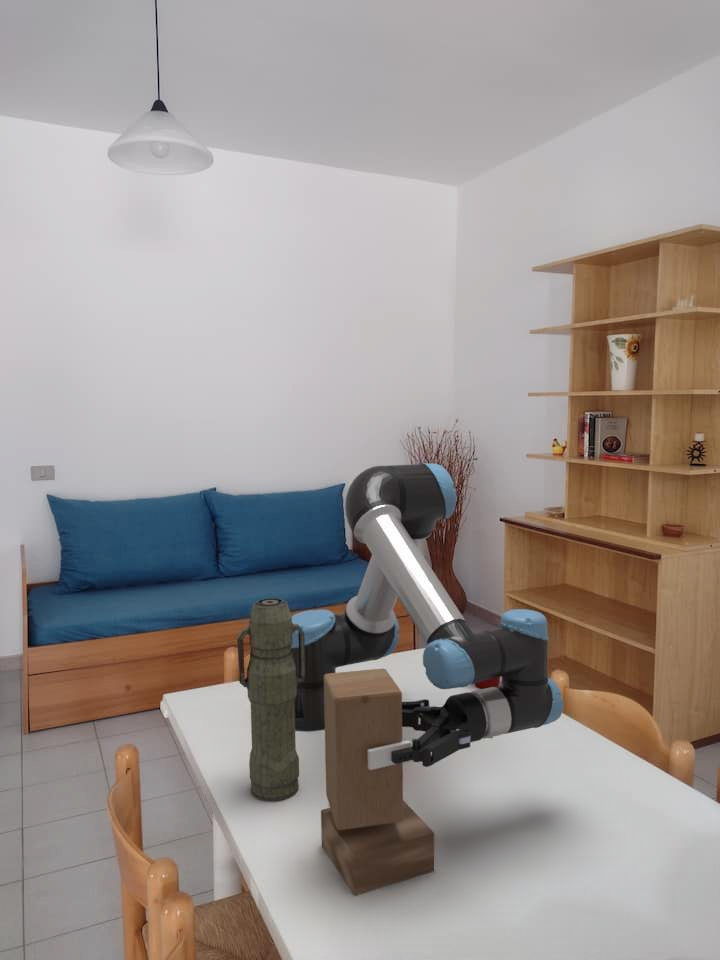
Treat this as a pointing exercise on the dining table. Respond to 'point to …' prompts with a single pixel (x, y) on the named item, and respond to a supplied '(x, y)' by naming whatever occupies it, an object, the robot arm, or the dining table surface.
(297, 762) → the thermos
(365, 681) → the wooden block
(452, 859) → the dining table surface
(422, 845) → the walnut pedestal block
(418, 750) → the robot arm
